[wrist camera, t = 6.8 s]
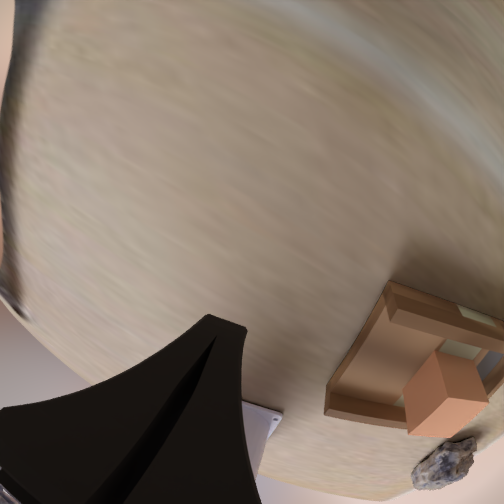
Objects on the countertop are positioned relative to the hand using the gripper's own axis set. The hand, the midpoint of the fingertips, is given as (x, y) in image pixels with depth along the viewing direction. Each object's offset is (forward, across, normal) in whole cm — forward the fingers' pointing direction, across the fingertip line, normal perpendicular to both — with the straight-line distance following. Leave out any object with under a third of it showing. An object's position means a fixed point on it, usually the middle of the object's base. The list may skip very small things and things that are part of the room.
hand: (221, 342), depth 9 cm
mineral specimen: (+10, -30, +21) cm, 38 cm away
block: (+8, -16, +6) cm, 19 cm away
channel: (+10, -15, +6) cm, 19 cm away
